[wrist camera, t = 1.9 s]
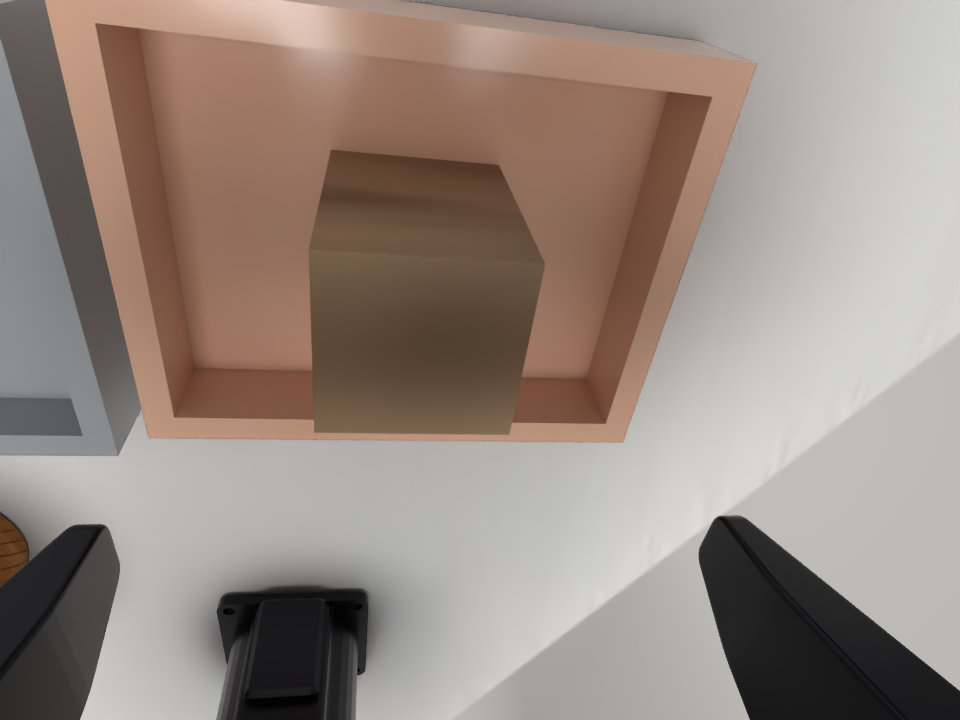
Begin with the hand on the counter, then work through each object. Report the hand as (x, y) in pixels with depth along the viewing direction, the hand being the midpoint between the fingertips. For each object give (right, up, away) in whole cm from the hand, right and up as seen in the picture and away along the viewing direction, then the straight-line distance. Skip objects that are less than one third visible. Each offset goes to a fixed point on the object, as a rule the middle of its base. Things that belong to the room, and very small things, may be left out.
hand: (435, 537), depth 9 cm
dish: (-1, +7, +9) cm, 11 cm away
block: (-1, +6, +9) cm, 11 cm away
